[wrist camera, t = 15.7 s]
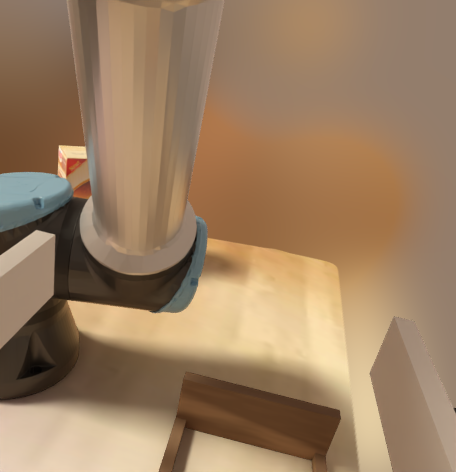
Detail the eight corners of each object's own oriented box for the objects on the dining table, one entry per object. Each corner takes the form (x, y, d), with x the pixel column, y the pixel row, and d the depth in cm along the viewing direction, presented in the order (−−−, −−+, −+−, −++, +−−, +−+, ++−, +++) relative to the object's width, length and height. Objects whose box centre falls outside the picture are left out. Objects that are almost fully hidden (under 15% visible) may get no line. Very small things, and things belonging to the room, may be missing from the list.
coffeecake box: (61, 264, 76) (65, 157, 68) (54, 245, 81) (57, 144, 73) (143, 257, 84) (155, 160, 76) (131, 240, 89) (141, 148, 81)
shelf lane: (177, 416, 51) (186, 371, 48) (321, 454, 50) (339, 410, 48) (144, 518, 40) (154, 467, 37) (329, 568, 39) (353, 520, 36)
